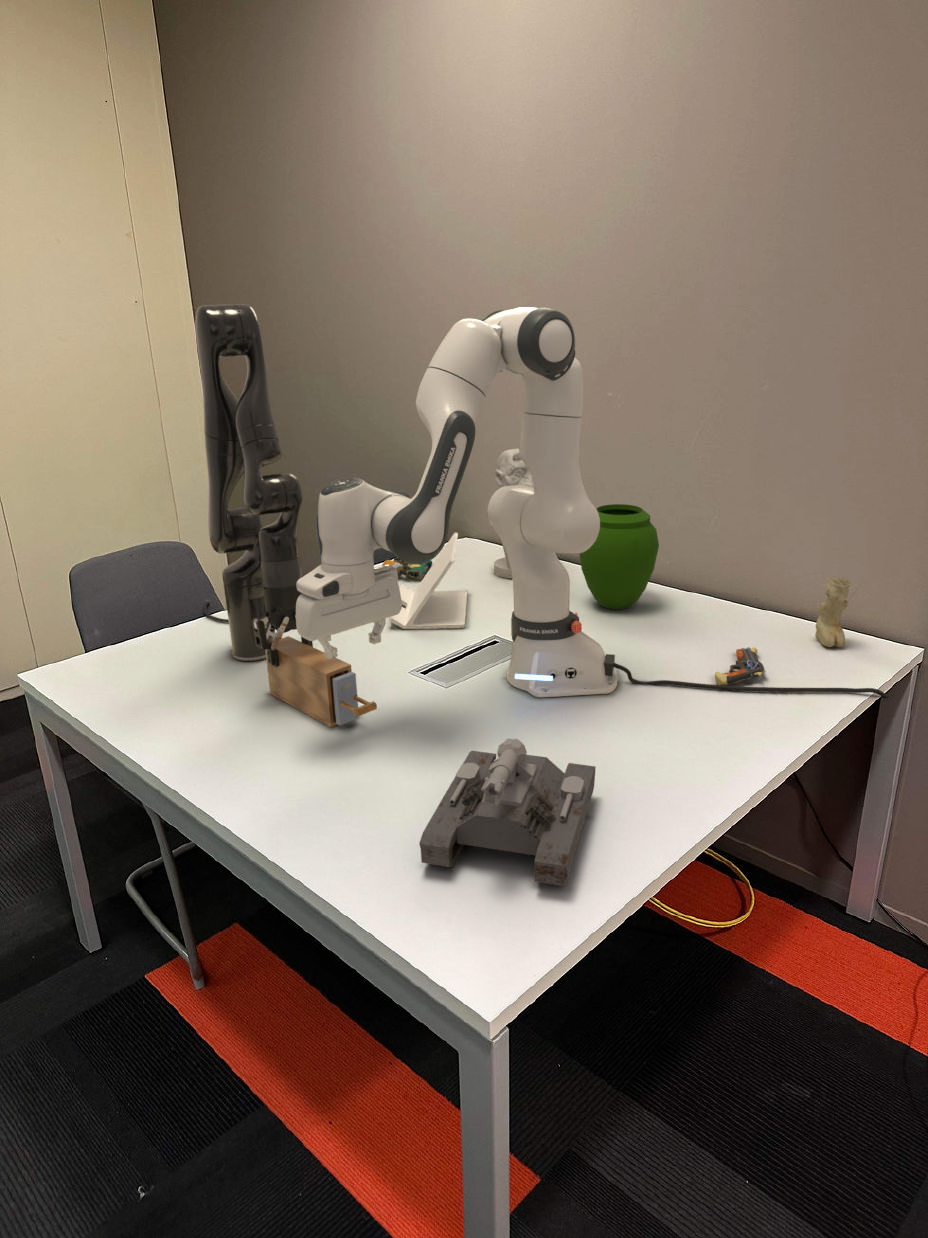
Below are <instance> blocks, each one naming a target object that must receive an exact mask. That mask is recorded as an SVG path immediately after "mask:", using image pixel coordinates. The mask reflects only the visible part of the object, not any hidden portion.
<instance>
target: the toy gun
mask: <svg viewBox="0 0 928 1238" xmlns="http://www.w3.org/2000/svg"><path fill="white" fill-rule="evenodd" d="M735 652H736V653H735V654H736V658H737V659H738V660H735V664H731V665H729V670H728V672H720V671H715V672H714V679H715V682H716V685H724V686H729V685H731V684H735V683H738V682H741V681H744V680H745V681H746V680H748V679H752V678H753V677H756V676H759V677H761V676H762V674H763V673H764V672H766V669H765V667H764V664H763V663H762V662H761V661H760V660H759V658H758V655H757V654H758V653H759V651H758V648H757V647H746V648H745V647H742V648H737V649H736V650H735Z"/></svg>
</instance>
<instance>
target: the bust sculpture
mask: <svg viewBox="0 0 928 1238" xmlns="http://www.w3.org/2000/svg"><path fill="white" fill-rule="evenodd" d="M494 480H495V482H496V484H497V486H498V487H501V488H502V487H504V486H511V485H527V486H532V487H534V486H533V480H532V476H531V473H530V471H529V469H528V467H527V466H526V464H525V463H524V462H523V460H522V459H521V457H520V453H519V448H512V449H506V450H504V451H502V452H501V454H500V455H499V457H498V459H497V461H496V468H495V471H494ZM485 514H486V517H488V509H486V513H485ZM499 540H500V542H501V546H502V548H503V553H504V557H502V558H498V559H496V560H495V561H494V562H493V573H494V574H495V575H496V576H497V577H500V578H506V579H513V578H512V572H511V567H510V564H509V560H508V557H507V554H506V551H505V548H504V546H503V543H502V541H501V539H500V538H499Z"/></svg>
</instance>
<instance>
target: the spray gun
mask: <svg viewBox="0 0 928 1238" xmlns="http://www.w3.org/2000/svg"><path fill="white" fill-rule="evenodd" d="M384 565H390V566H392V567H394V568H395V569H396V570H397V573H398V578H399V577H401V576H406V578H416V579H422V578H424V576H425V575H426V574H427V570H429V569H430V568H431V567H432V565H433V561H432V560H430V561H428V562H426V563H423V564H417V565H415V564H409V563H406V562H404V561H402V560H401V559H400V558H398V557H397V556H395V557H394V558H393V560H392V559H386V560H384V562H383V563H382V564H381V567H382V566H384Z"/></svg>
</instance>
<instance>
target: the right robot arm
mask: <svg viewBox="0 0 928 1238" xmlns="http://www.w3.org/2000/svg"><path fill="white" fill-rule="evenodd" d="M501 372H505V373H510V374H515V375H521V377H522V380H523V383H524V389H525V391H524V392H525V393H524V397H523V398H524V399H523V407H522V408H523V409H522V415H521V416H522V417H521V427H520V436H519V438H520V440H519V448H518V449H519V453H520V457H521V459H522V460H523V462H524V463H525V464H526V466H527V467H528V469H529V471H530V473H531V476H532V480H533V486H534V487H532V486H527V485H511V486H504V487H502V486H501V487H500V488H498V489H497V490H495V492H494V493H493V494H492V495H491V497H490V499H489V502H488V505H487V510H488V516H487V519H488V522H489V524H490V526H491V527H492V529H493V530H494V531H495V533H496V534H497V535H498V537H499V540H500V539H501V540H500V542H501V541H502V543H503V546H504V548H505V551H506V554H507V557H508V560H509V564H510V567H511V572H512V578H511V579H512V592H513V593H512V594H513V596H512V597H513V611H512V612H511V618H510V635H511V640H512V645H511V646H512V647H511V655H510V660H509V665H508V669H507V672H506V675H505V678H506V681H507V683H509V684H510V685H511V686H513V687H515V688H517V689H519V690H522V691H525V692H527V693H529V694H530V695H531V696H533V697H535V698H556V697H572V696H573V697H574V696H588V695H589V696H590V695H591V696H592V695H607V694H611V693H612V692H613V691H615V690H616V688H617V686H618V673H617V670H616V669H618V670H620V671H622V672H624V673H625V674H626V675H627V679H628V681H629V682H631V683H632V684H634V685H641V686H659V685H669V686H677V687H679V686H680V687H689V688H698V689H710V690H720V691H721V690H722V691H737V692H739V691H740V692H769V693H849V694H850V693H851V694H853V693H854V694H859V693H860V694H863V693H864V694H865V693H872V694H876V695H879V696H880V697H881V698H882V699H885V700H888V699H889V696H888V695H887V694H886V693H885V692H883V691H882V690H880V689H877V688H873V687H861V688H859V687H858V688H854V687H773V686H771V687H770V686H769V687H768V686H742V685H741V686H740V685H739V686H738V685H725V686H724V685H718V684H710V683H699V682H697V683H696V682H688V681H681V680H680V681H679V680H670V679H669V680H667V679H659V680H649V681H641V680H638V679H636V678H633V675H632V672H631V671H630V669H628V668H627V667H626V666H623V665H621V664H618V663H616V654H612V653H611V654H610V653H609V654H608V653H606V654H605V651H604V648H603V647H602V645H601V644H600V643H599V642H598V641H596V640H595V639H593V638H591V637H590V636H589V635H587V634H586V633H585V632H583V631H582V630H583V626H582V625H583V624H582V622H581V621H580V616H579V615H578V612H577V611H575V613H574V612H573V611H571V610H570V590H571V589H570V586H571V585H570V584H571V579H570V574H569V572H568V571H567V569H566V567H565V566H564V565H563V564H562V563H561V561H560V559H559V557H558V556H557V554H579V553H583V552H585V551H587V550H588V549H589V548H590V547H591V546H592V545H593V544H594V542H595V541H596V539H597V537H598V534H599V530H600V518H599V514H598V511H597V510H596V509H597V507H595V506H594V504H593V502H592V501H591V499H590V498H589V496H588V494H587V491H586V489H585V485H584V483H583V479H582V473H581V467H580V442H581V433H582V421H583V412H584V397H585V395H584V391H585V389H584V373H583V367H582V364H581V362H580V361H579V360H578V359H577V358H576V336H575V331H574V328H573V324H572V322H571V320H570V319H569V318H568V317H567V316H566V315H565V314H564V313H562V312H561V311H558V310H556V309H554V308H549V307H532V306H531V307H529V306H526V307H525V306H520V307H515V308H512V309H505V310H496V311H493V312H490V313H489V314H486V315H485V316H484V317H483V318H481V319H477V318H462V319H460V320H458V321H457V322H455V323H454V324H453V325H452V327H451V328H450V329H449V331H448V332H447V334H446V335H445V336H444V338H443V340H441V343H440V344H439V346H438V348H437V349H436V350H435V353H434V355H433V356H432V358H431V360H430V362H429V364H428V366H427V368H426V370H425V373H424V375H423V376H422V379H421V381H420V384H419V387H418V390H417V394H416V398H415V407H416V411H417V414H418V417H419V419H420V420H421V422H422V424H423V425H424V426H425V428H426V429H427V430H428V432H429V435H430V438H431V439H430V440H431V451H430V454H429V457H428V461H427V463H426V466H425V469H424V471H423V474H422V477H421V480H420V483H419V485H418V488H417V490H416V493H415V494H414V495H413V496H412V498H410V497H408V496H405V495H403V494H400V493H397V492H395V491H394V492H393V491H388V490H384V489H381V488H379V487H376V486H374V485H371V484H370V483H367V482H366V481H365V480H364V479H363V478H360V477H344V478H339V479H334V480H332V481H330V482H328V483H327V484H325V485H324V486H323V487H322V488H321V490H320V492H319V496H318V502H317V523H318V526H317V527H318V535H319V539H320V542H321V547H322V549H321V551H322V552H321V555H320V563H321V564H319V565H318V566H316V567H315V568H314V569H313V570H311V571H310V572H308V573H307V574H305V575H304V576H303V575H302V578H300V579H299V580H298V581H297V583H296V586H297V590H298V591H299V592H301V593H302V594H301V595H300V596H299V597H298V599H297V602H296V627H297V629H296V631H297V634H298V635H299V636H300V638H301V637H303V638H305V639H307V640H309V641H312V642H314V641H318V642H319V644H320V645H321V647H322V648H323V649H324V651H323V652H324V653H325V657H326V658H328V659H332V658H337V657H338V655H339V654H338V648H337V647H336V646H333V645H331V644H330V642H331V641H332V636H333V635H337V634H341V633H343V632H346V631H350V630H352V629H353V630H354V629H356V628H359V627H362V626H366V625H369V624H372V623H374V624H373V628H372V631H371V632H368V642H369V644H372V645H376V644H379V643H382V633H383V631H384V628H385V625H386V623H387V622H386V619H387V618H388V619H389V617H391V616H394V615H398V614H399V613H400V611H401V609H402V607H403V604H402V601H401V594H400V589H399V587H400V585H399V577H398V573H397V570H396V569H395V568H394V567H392V566H390V565H384V566H382V565H381V566H377V567H375V564H374V563H375V561H374V560H375V559H374V554H375V553H374V552H375V551H376V550H380V549H384V550H385V551H387V552H390V553H392V554H393V555H394V556H395V557H398V558H400V559H401V560H402V561H404V562H406V563H409V564H415V565H417V564H423V563H426V562H428V561H430V560H431V561H432V560H433V559H435V558H436V557H438V556H439V555H440V553H441V552H442V551H443V549H444V548H445V546H446V544H447V540H448V535H449V528H450V518H451V514H452V513H451V512H452V509H453V505H454V502H455V501H456V498H457V494H458V491H459V488H460V486H461V483H462V480H463V477H464V474H465V472H466V468H467V466H468V462H469V460H470V457H471V453H472V450H473V447H474V443H475V439H476V426H477V425H476V424H477V421H478V418H479V414H480V411H481V408H482V406H483V404H484V401H485V399H486V397H487V395H488V393H489V390H490V388H491V386H492V383H493V381H494V379H495V377H496V376H498V374H499V373H501ZM502 543H501V544H502ZM503 546H502V547H503Z"/></svg>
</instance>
